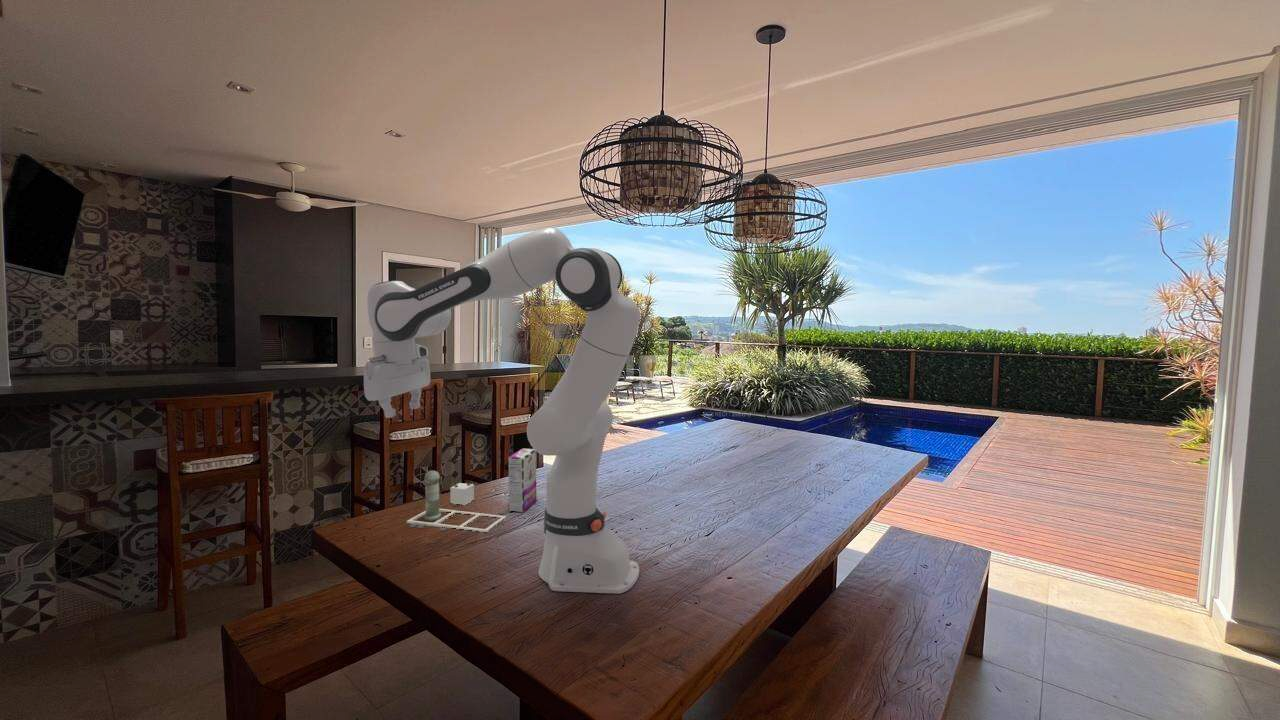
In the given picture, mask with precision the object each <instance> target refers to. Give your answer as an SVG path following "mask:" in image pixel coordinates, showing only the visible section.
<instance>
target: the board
mask: <svg viewBox="0 0 1280 720" xmlns="http://www.w3.org/2000/svg"><path fill="white" fill-rule="evenodd" d="M439 512H440V513H446V512H451V513H448V514H446V515H444V516H442V517H441V518H440V519H437V520H435V521H434V522H431V521H428V522H427V521H420V520H418V519H421V518H422V517H424V514H426V510H424V511H422V512H421V513H419V514H416V515H415V516H413V517H411V518H410V519H408V520H406V523H407V524H409V525H408V527H409V528H411V529H412V528H417V529H418V530H419V529H420V530H421V529H424V528H425V526H427V527H437V528H438V531H439V532H445V531H447V529H451V528H456V529H455V530H459V529H464V530H463V531H467V530H472V531H471V532H475V531H479V532H478V533H483V532H487V533H488V532H490V531H491V530H492V529H494V528H495V527H496V526H498V525H499V524H500V523H502V522H503V521H504V520H506V519H507V516H506V515H498V514H490V513H482V512H481V513H480V512H472V511H462V510H455V509H447V508H439ZM455 513H461V514H460V515H464V514H471V515H470V516H472V515H475V516H472V517H471V518H469V519H468V520H466V521H465V522H462V524H460V525H455V524H445V523H442V522H444V521H446V520H447V519H449V518H450V517H449V516H451V515H452V516H454V515H456V514H455ZM453 514H454V515H453ZM452 516H451V517H452ZM479 516H480V517H481V516H489V517H488V518H490V517H497V518H496V521H494V522H492V523H491V524H490V525H489V526H488V527H486V528H479V527H470V526H468V525H469V524H471V523H472V522H474V521H475V520H477V519H478V518H479ZM448 517H449V518H448ZM477 517H478V518H477ZM476 518H477V519H476ZM498 518H500V519H498ZM505 518H506V519H505ZM445 519H446V520H445ZM474 519H475V520H474ZM503 519H504V520H503ZM473 520H474V521H473ZM502 520H503V521H502ZM501 521H502V522H501ZM470 522H471V523H470ZM499 522H500V523H499ZM468 523H469V524H468ZM498 523H499V524H498ZM467 524H468V525H467ZM497 524H498V525H497ZM495 525H496V526H495ZM464 526H465V527H464ZM494 526H495V527H494ZM442 527H443V528H442ZM444 527H445V528H444ZM493 527H494V528H493ZM491 528H492V529H491ZM490 529H491V530H490ZM489 530H490V531H489Z"/></svg>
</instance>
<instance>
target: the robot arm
mask: <svg viewBox="0 0 1280 720" xmlns="http://www.w3.org/2000/svg"><path fill="white" fill-rule="evenodd" d="M552 281H555V282H556V284H557V286H558V289H559V290H560V291H561V293H562V294H563V295H564V296H565V297H567V299H569V300H570V301H571V302H573V303H574V304H575V305H577V307H578V308H579V309H581V310H582V311H584V312H587V317H586V320H585V321H586V322H585V325H584V327H583V329H582V331H581V334H580V336H579V339H578V340H577V344H576V346H575V349H574V350H573V354H572V356H571V359H570V361H569V363H568V366H567V367H566V369H565V371H564V373H563V374H562V376H561V377H560V379H559V380H558V383H557V384H556V385H555V387H554V389H553V390H552V391H551V393H550V394H549V396H547V399H546V400H545V401H544V403H543V404H542V405H541V406H540V408H539V409H538V410H536V411H535V412H534V413H533V414H532V415H531V417H530V418H529V420H528V422H527V426H526V436H527V440H528V442H529V444H530V446H531V447H532V449H534V450H536V453H538V454H541V455H543V456H549V457H550V456H551V457H552V456H554V457H555V458H554V461H553V463H552V465H551V467H550V469H549V470H548V472H547V476H546V508H545V509H544V514H543V515H544V517H543V529H544V531H543V533H544V537H545V538H544V545H543V551H542V556H541V562H540V564H539V568H538V573H537V574H538V576H539V579H541V580H542V581H544V582H545V583H547V584H548V587H549V589H550V590H551V591H552V592H553V591H554V592H571V593H572V592H573V593H590V594H591V593H597V594H614V595H615V594H616V595H617V594H623V593H625V592H627V591H629V590H630V589H631V588H633V587H634V586H635V584H636V583H637V581H638V578H639V577H640V566H639V564H638V563H637V561H635V560H631V558H630V552H629V549H628V546H627V544H626V542H625V541H624V540H622V539H621V538H620V537H618V536H617V535H616V534H615V533H614V532H613V531H611V530H610V529H609V528H607V527H606V526H605V518H606V517H607V511H606V510H605V511H604V512H603V513H602V512H601V511H600V510H599V509H598V508H597V493H598V492H597V491H598V490H597V489H598V487H597V486H598V485H597V484H598V475H599V474H598V473H599V468H600V463H601V458H602V453H603V449H604V445H605V441H606V438H607V435H608V433H609V432H610V431H609V430H610V429H611V427H612V426H613V425H612V424H613V421H614V420H613V418H614V417H613V416H614V415H613V411H612V409H611V406H610V405H609V404H608V403H607V402H606V401H605V400H606V399H607V398H608V397H609V395H610V394H611V393H612V392H613V391H614V389H615V388H616V386H617V384H618V382H619V379H620V378H621V377H620V376H621V374H622V372H623V370H624V368H625V365H626V364H627V361H628V358H629V356H630V354H631V350H632V348H633V345H634V342H635V339H636V335H637V332H638V328H639V323H640V320H641V311H640V308H639V307H638V305H637V303H635V302H634V301H633V300H632V299H631V298H629V297H628V296H625V295H623V294H622V293H620V291H619V289H620V287H621V285H622V281H623V269H622V266H621V264H620V263H619V261H618V259H617V258H616V257H614V256H613V255H612V254H611V253H609V252H607V251H604V250H602V249H600V248H595V247H594V248H593V247H579V248H575V247H574V246H573V245H572V243H571V241H570V239H569V238H568V237H567V235H566V234H565V233H564V232H562V231H561V230H560V229H559V228H556V227H545V228H540V229H537V230H533V231H531V232H528V233H526V234H523V235H521V236H519V237H517V238H514V239H513V240H510V241H507V243H505V244H503V245H501V246H500V247H498V248H496V249H493V250H492V251H491V252H489V253H487V254H486V255H483V256H481V258H479V259H477V260H475V261H473V262H471V263H469V264H467V265H465V266H464V267H462V268H460V269H458V270H456V271H454V272H452V273H449V274H446V275H444V276H442V277H440V278H438V279H436V280H433V281H432V282H429V283H427V284H425V285H423V286H420V287H418V288H414V287H412V286H410V285H408V284H406V283H405V282H404V281H402V280H396V279H395V280H388V281H382V282H378V283H376V284H374V285H372V286H371V287H370V288H369V290H368V291H367V292H368V293H367V303H366V304H367V313H368V315H367V317H368V322H369V326H370V327H371V330H372V339H371V343H372V351H373V356H371V357H369V358H368V359H367V362H366V363H365V365H364V370H363V390H364V397H365V399H366V400H367V401H368V402H370V401H371V402H374V401H375V402H376V401H378V404H379V406H380V407H381V408H382V410H383V413H384V417H385V418H386V419H392V418H394V417H396V415H397V413H396V408H393V406H392V404H391V403H392V398H393V397H396V396H400V395H402V394H405V393H409V394H410V395H411V397H410V401H409V402H408V404H409V408H410V410H416V409H419V408H421V403H420V399H421V396H422V389H423V388H426V387H429V386H430V384H431V369H430V363H429V359H428V358H427V357H428V356H429V349H428V348H427V347H426V346H423V345H421V344H419V343H416V341H415V339H417V338H423V337H424V338H425V337H431V336H435V335H439V334H441V333H443V332H445V331H446V330H448V328H449V327H450V325H451V323H452V320H453V319H452V318H453V312H452V309H454V308H455V307H459V306H460V305H463V304H465V303H470V302H475V301H483V300H488V301H489V300H504V299H510V298H513V297H518V296H521V295H524V294H526V293H527V294H528V293H529V292H531V291H533V290H536V289H538V288H540V287H541V286H543V285H545V284H548V283H550V282H552Z"/></svg>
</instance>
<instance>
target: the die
mask: <svg viewBox="0 0 1280 720" xmlns="http://www.w3.org/2000/svg"><path fill="white" fill-rule="evenodd" d="M449 490H450V491H449V492H450V493H449V494H450V495H449V496H450V503H453V504H452V505H456V504H460V505H459V506H467V505H468V503H469V504H470V503H472V502H473V501H472V500H474V501H475V484H473V483H470V482H469V483H462V482H459V483H457V484H454V485H453V486H451V487H450V489H449ZM471 501H472V502H471ZM461 504H462V505H461ZM466 504H467V505H466Z"/></svg>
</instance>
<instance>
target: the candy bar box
mask: <svg viewBox="0 0 1280 720" xmlns="http://www.w3.org/2000/svg"><path fill="white" fill-rule="evenodd" d="M507 460H508V461H507V463H508V464H507V465H508V467H507V468H508V469H507V470H508V473H507V474H508V475H507V476H508V477H507V478H508V479H507V480H508V512H510V511H516V512H515V513H525V512H526V511H527V510H528V509H529V508H530V507H532V505H533V504H534V503H535V502H537V451H536V450H534V449H533V448H526V447H525V448H523V447H522V448H521V449H519V450H518V451H516V452H514V453H513V454H512V455H510V456H508V459H507Z"/></svg>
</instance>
